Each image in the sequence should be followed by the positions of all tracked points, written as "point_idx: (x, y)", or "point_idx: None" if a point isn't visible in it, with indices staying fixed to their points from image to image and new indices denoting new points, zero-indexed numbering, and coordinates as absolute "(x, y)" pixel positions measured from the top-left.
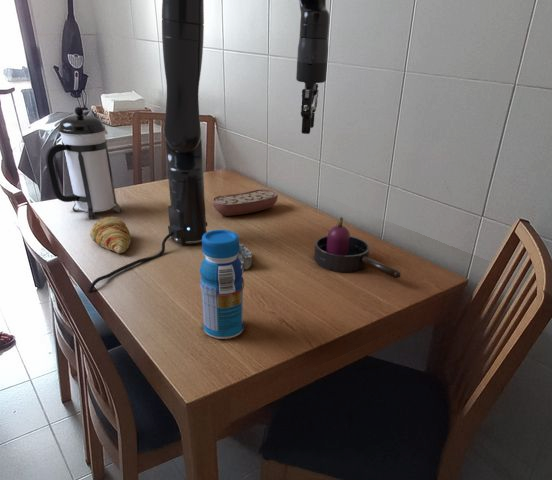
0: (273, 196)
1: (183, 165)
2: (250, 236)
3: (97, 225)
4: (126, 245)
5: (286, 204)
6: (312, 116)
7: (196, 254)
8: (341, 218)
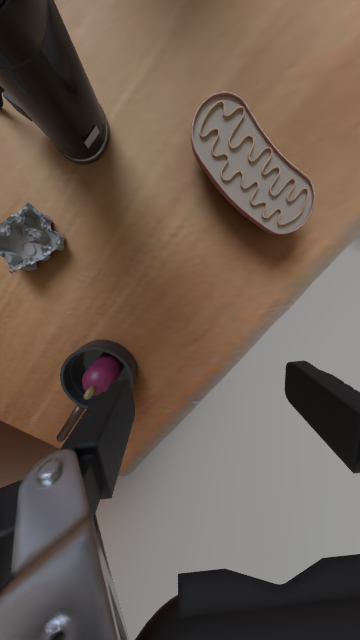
0: (278, 227)
1: None
2: (134, 233)
3: None
4: None
5: (300, 248)
6: (333, 437)
7: (30, 171)
8: (84, 398)
